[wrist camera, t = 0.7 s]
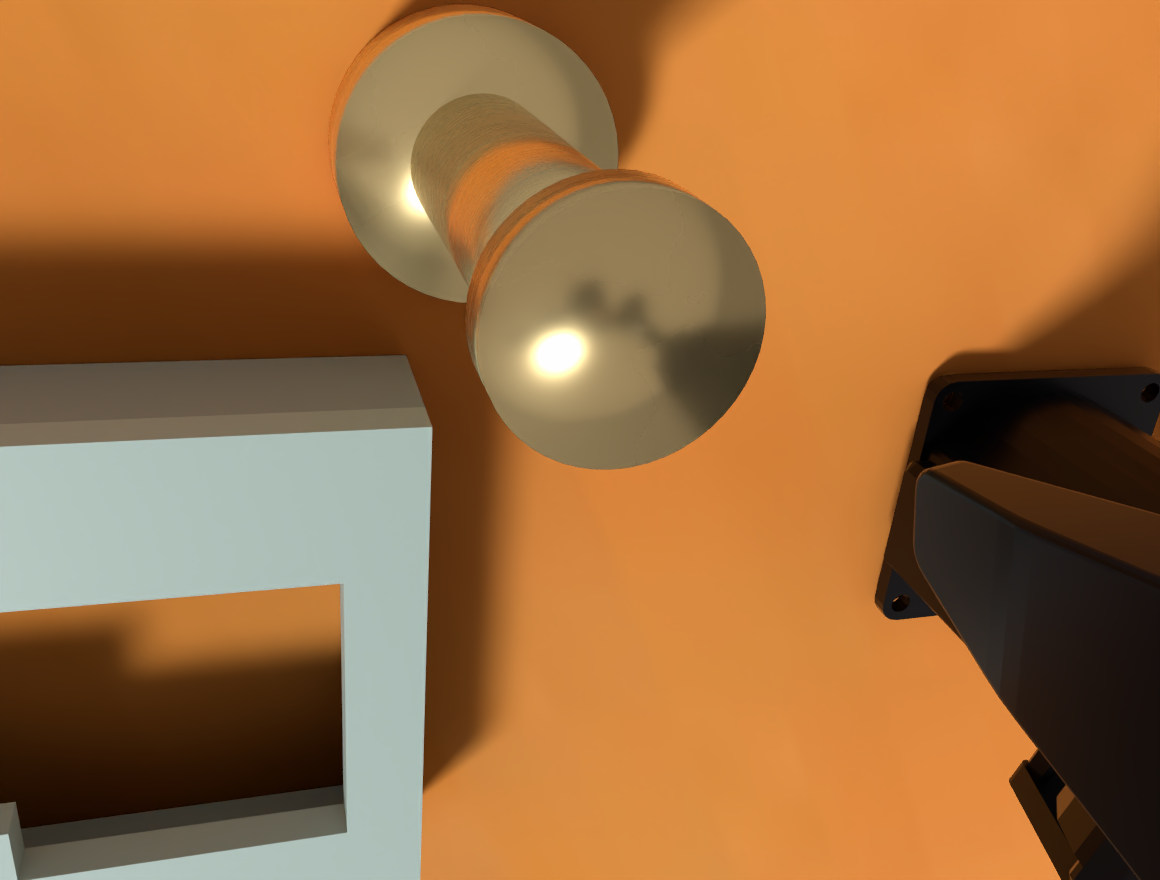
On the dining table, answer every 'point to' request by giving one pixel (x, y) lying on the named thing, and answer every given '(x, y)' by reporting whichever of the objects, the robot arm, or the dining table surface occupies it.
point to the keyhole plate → (234, 580)
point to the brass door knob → (544, 237)
